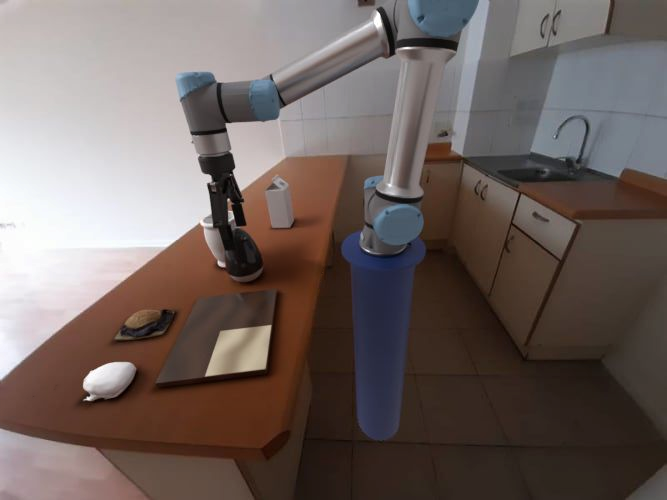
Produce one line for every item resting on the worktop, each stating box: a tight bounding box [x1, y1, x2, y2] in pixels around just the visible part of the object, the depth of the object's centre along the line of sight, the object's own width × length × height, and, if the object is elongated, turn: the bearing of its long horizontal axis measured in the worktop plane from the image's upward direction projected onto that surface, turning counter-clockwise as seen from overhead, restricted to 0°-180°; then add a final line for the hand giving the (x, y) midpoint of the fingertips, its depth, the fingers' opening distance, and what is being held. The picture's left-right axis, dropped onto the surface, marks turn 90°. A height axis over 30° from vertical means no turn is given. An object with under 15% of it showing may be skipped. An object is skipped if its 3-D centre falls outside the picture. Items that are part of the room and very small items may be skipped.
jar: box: [199, 210, 241, 269], centre depth 84 cm, size 11×10×15 cm
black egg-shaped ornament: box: [224, 227, 264, 283], centre depth 76 cm, size 10×10×15 cm
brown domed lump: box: [114, 308, 176, 342], centre depth 64 cm, size 11×8×4 cm
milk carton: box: [264, 173, 295, 229], centre depth 105 cm, size 7×7×19 cm
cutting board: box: [154, 288, 278, 389], centre depth 61 cm, size 20×24×2 cm
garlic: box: [82, 361, 137, 402], centre depth 51 cm, size 8×7×4 cm
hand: (236, 236), depth 73 cm, fingers open, 13 cm apart
